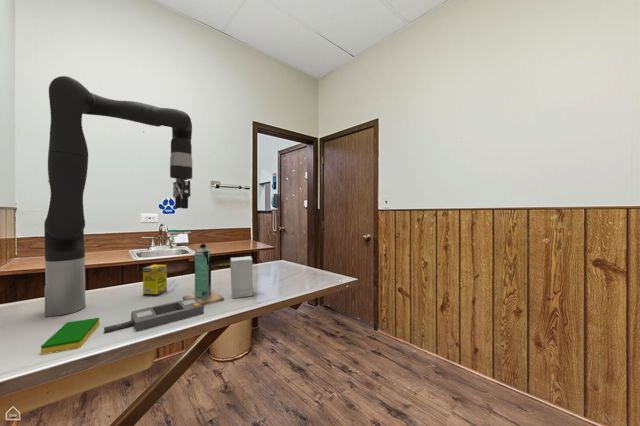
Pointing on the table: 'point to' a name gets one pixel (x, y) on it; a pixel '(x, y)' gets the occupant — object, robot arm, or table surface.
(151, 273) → the supplement box
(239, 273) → the skincare box
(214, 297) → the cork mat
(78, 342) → the dish sponge
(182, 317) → the power strip
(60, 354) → the table surface
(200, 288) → the spray can
